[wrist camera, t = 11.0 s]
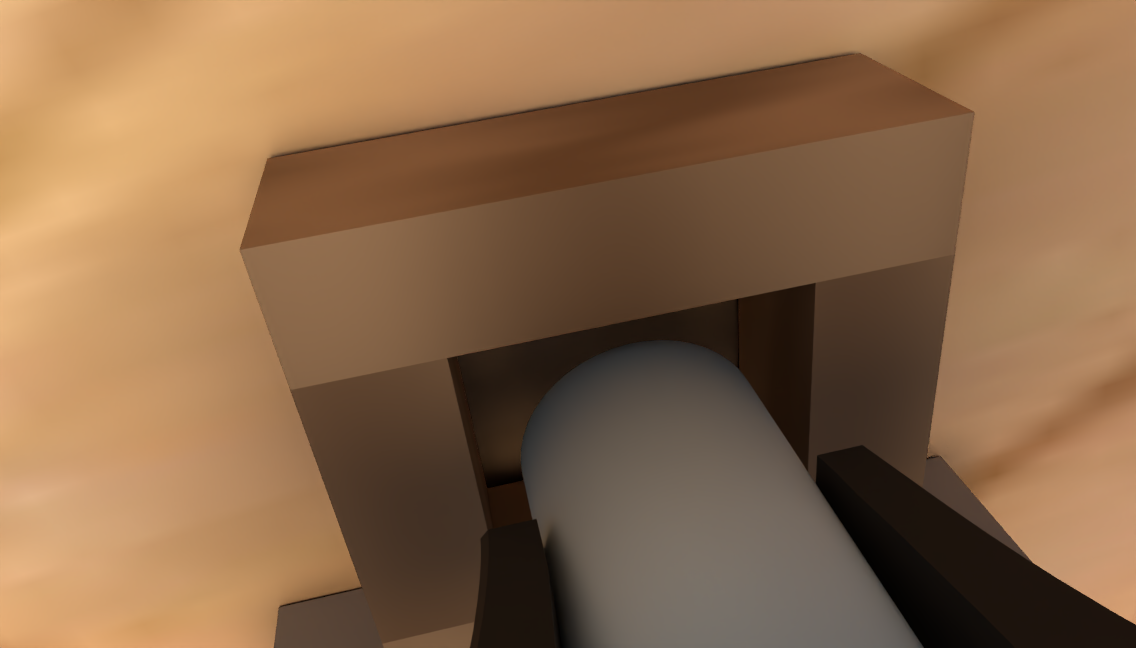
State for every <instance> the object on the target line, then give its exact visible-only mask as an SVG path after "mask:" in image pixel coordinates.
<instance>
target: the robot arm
mask: <svg viewBox="0 0 1136 648" xmlns="http://www.w3.org/2000/svg"><path fill="white" fill-rule="evenodd" d="M816 485H817V486H818V488H819V489H820V491H821V492H822V494H823V495H824V497H825V499H826V500H827V502H828V503H829V505H830V506H831V508H832V509H833V511H834V512H835V514H836V515H837V517H838V518H839V520H840V521H841V523H842V524H843V526H844V527H845V529H846V530H847V532H848V533H849V535H850V536H851V538H852V539H853V541H854V543H855V544H856V546H857V547H858V549H859V550H860V552H861V553H862V555H863V556H864V558H865V559H866V561H867V562H868V564H869V565H870V567H871V568H872V570H873V571H874V573H875V574H876V576H877V577H878V579H879V580H880V582H881V584H882V585H883V587H884V588H885V590H886V591H887V593H888V594H889V596H890V597H891V599H892V600H893V602H894V603H895V605H896V606H897V608H898V609H899V611H900V612H901V614H902V615H903V617H904V618H905V620H906V621H907V623H908V624H909V626H910V628H911V629H912V631H913V632H914V634H915V635H916V637H917V638H918V640H919V641H920V643H921V644H922V646H923V647H924V648H1136V625H1135V624H1133V623H1132V622H1130V621H1128V620H1126V619H1124V618H1123V617H1121V616H1119V615H1117V614H1116V613H1114V612H1112V611H1110V610H1109V609H1107V608H1105V607H1104V606H1102V605H1100V604H1099V603H1097V602H1095V601H1094V600H1092V599H1090V598H1089V597H1087V596H1086V595H1084V594H1082V593H1081V592H1079V591H1077V590H1076V589H1074V588H1072V587H1071V586H1069V585H1067V584H1066V583H1064V582H1062V581H1061V580H1059V579H1057V578H1056V577H1054V576H1052V575H1051V574H1049V573H1048V572H1046V571H1045V570H1043V569H1041V568H1040V567H1038V566H1037V565H1035V564H1034V563H1032V562H1030V561H1029V560H1027V559H1026V558H1024V557H1023V556H1021V555H1020V554H1018V553H1017V552H1015V551H1014V550H1012V549H1011V548H1009V547H1008V546H1006V545H1005V544H1003V543H1002V542H1000V541H999V540H997V539H996V538H994V537H993V536H991V535H990V534H988V533H987V532H985V531H984V530H982V529H981V528H979V527H978V526H976V525H975V524H973V523H972V522H971V521H969V520H968V519H966V518H965V517H963V516H962V515H960V514H959V513H958V512H956V511H955V510H953V509H952V508H950V507H949V506H948V505H946V504H945V503H943V502H942V501H941V500H939V499H938V498H936V497H935V496H933V495H932V494H931V493H929V492H928V491H926V490H925V489H924V488H922V487H921V486H919V485H918V484H917V483H915V482H914V481H912V480H911V479H910V478H908V477H907V476H905V475H904V474H903V473H901V472H900V471H898V470H897V469H896V468H894V467H893V466H891V465H890V464H889V463H887V462H886V461H884V460H883V459H882V458H880V457H879V456H877V455H876V454H874V453H873V452H872V451H870V450H869V449H867V448H866V447H865V446H863V445H860V446H856V447H851V448H847V449H842V450H838V451H834V452H829V453H825V454H820V455H817V466H816ZM480 540H481V566H480V581H479V591H478V600H477V607H476V614H475V621H474V628H473V634H472V639H471V644H470V648H562V646H561V638H560V631H559V624H558V617H557V612H556V606H555V601H554V596H553V591H552V585H551V580H550V575H549V569H548V564H547V560H546V556H545V552H544V547H543V543H542V539H541V535H540V531H539V527H538V523H537V519H533V520H529V521H524V522H520V523H515V524H511V525H506V526H502V527H498V528H493V529H489V530H487V531H486V533H485V534H484V535H483V536H482V537H481V538H480Z"/></svg>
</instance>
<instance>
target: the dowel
mask: <svg viewBox="0 0 1136 648" xmlns="http://www.w3.org/2000/svg"><path fill="white" fill-rule="evenodd" d="M521 468H522V474H523V479H524V483H525V488H526V492H527V497H528V502H529V506H530V511H531V515H532V520H533V519H537V523H538V527H539V531H540V535H541V539H542V543H543V547H544V552H545V556H546V560H547V564H548V569H549V575H550V580H551V585H552V591H553V596H554V601H555V606H556V612H557V617H558V624H559V631H560V638H561V646H562V648H924V647H923V646H922V644H921V643H920V641H919V640H918V638H917V637H916V635H915V634H914V632H913V631H912V629H911V628H910V626H909V624H908V623H907V621H906V620H905V618H904V617H903V615H902V614H901V612H900V611H899V609H898V608H897V606H896V605H895V603H894V602H893V600H892V599H891V597H890V596H889V594H888V593H887V591H886V590H885V588H884V587H883V585H882V584H881V582H880V580H879V579H878V577H877V576H876V574H875V573H874V571H873V570H872V568H871V567H870V565H869V564H868V562H867V561H866V559H865V558H864V556H863V555H862V553H861V552H860V550H859V549H858V547H857V546H856V544H855V543H854V541H853V539H852V538H851V536H850V535H849V533H848V532H847V530H846V529H845V527H844V526H843V524H842V523H841V521H840V520H839V518H838V517H837V515H836V514H835V512H834V511H833V509H832V508H831V506H830V505H829V503H828V502H827V500H826V499H825V497H824V495H823V494H822V492H821V491H820V489H819V488H818V486H817V485H816V483H815V482H814V480H813V479H812V477H811V476H810V474H809V473H808V471H807V470H806V468H805V467H804V465H803V464H802V462H801V461H800V459H799V458H798V456H797V454H796V453H795V451H794V450H793V448H792V447H791V445H790V444H789V442H788V441H787V439H786V438H785V436H784V435H783V433H782V432H781V430H780V429H779V427H778V426H777V424H776V423H775V421H774V420H773V418H772V417H771V415H770V414H769V412H768V410H767V409H766V407H765V406H764V404H763V403H762V401H761V400H760V398H759V397H758V395H757V394H756V392H755V391H754V389H753V388H752V386H751V385H750V383H749V382H748V380H747V379H746V378H745V376H744V375H743V374H742V372H741V371H740V370H739V369H738V368H737V367H736V366H735V365H734V364H733V363H732V362H730V361H729V360H728V359H726V358H725V357H723V356H722V355H720V354H718V353H716V352H714V351H712V350H710V349H708V348H705V347H702V346H699V345H696V344H693V343H687V342H682V341H672V340H653V341H642V342H636V343H631V344H626V345H623V346H620V347H616V348H613V349H610V350H608V351H605V352H603V353H600V354H598V355H596V356H594V357H592V358H590V359H588V360H587V361H585V362H583V363H581V364H579V365H578V366H577V367H575V368H574V369H572V370H571V371H570V372H568V373H567V374H566V375H564V376H563V377H562V378H561V379H560V380H559V381H558V382H556V383H555V384H554V385H553V386H552V388H551V389H550V390H549V391H548V392H547V393H546V394H545V395H544V397H543V398H542V399H541V401H540V402H539V404H538V405H537V407H536V408H535V410H534V412H533V414H532V415H531V417H530V419H529V421H528V424H527V427H526V430H525V433H524V435H523V441H522V446H521Z"/></svg>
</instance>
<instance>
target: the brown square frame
mask: <svg viewBox="0 0 1136 648" xmlns="http://www.w3.org/2000/svg"><path fill="white" fill-rule="evenodd" d="M973 118H974V112H973V111H971V110H969V109H967V108H965V107H963V106H961V105H960V104H958V103H956V102H954V101H952V100H950V99H948V98H946V97H944V96H942V95H940V94H938V93H936V92H934V91H932V90H930V89H929V88H927V87H925V86H923V85H921V84H919V83H917V82H915V81H913V80H911V79H909V78H907V77H905V76H903V75H901V74H899V73H898V72H896V71H894V70H892V69H890V68H888V67H886V66H884V65H882V64H880V63H878V62H876V61H874V60H872V59H870V58H868V57H867V56H865V55H863V54H861V53H858V54H853V55H847V56H842V57H836V58H830V59H825V60H819V61H813V62H808V63H802V64H797V65H791V66H785V67H780V68H774V69H769V70H763V71H757V72H752V73H746V74H740V75H735V76H729V77H724V78H718V79H712V80H707V81H701V82H695V83H690V84H684V85H679V86H673V87H667V88H662V89H656V90H651V91H645V92H639V93H634V94H628V95H622V96H617V97H611V98H606V99H600V100H594V101H589V102H583V103H578V104H572V105H566V106H561V107H555V108H549V109H544V110H538V111H533V112H527V113H521V114H516V115H510V116H504V117H499V118H493V119H488V120H482V121H476V122H471V123H465V124H460V125H454V126H448V127H443V128H437V129H431V130H426V131H420V132H415V133H409V134H403V135H398V136H392V137H387V138H381V139H375V140H370V141H364V142H358V143H353V144H347V145H342V146H336V147H330V148H325V149H319V150H314V151H308V152H302V153H297V154H291V155H285V156H280V157H274V158H269V159H267V162H266V166H265V169H264V172H263V175H262V179H261V182H260V185H259V188H258V192H257V195H256V198H255V201H254V205H253V208H252V211H251V214H250V218H249V221H248V224H247V227H246V231H245V234H244V237H243V240H242V244H241V247H240V253H241V255H242V258H243V261H244V264H245V266H246V269H247V272H248V275H249V277H250V280H251V283H252V286H253V288H254V291H255V294H256V297H257V300H258V302H259V305H260V308H261V311H262V313H263V316H264V319H265V322H266V324H267V327H268V330H269V333H270V335H271V338H272V341H273V344H274V346H275V349H276V352H277V355H278V357H279V360H280V363H281V366H282V368H283V371H284V374H285V377H286V379H287V382H288V385H289V388H290V390H291V393H292V396H293V399H294V402H295V404H296V407H297V410H298V413H299V415H300V418H301V421H302V424H303V426H304V429H305V432H306V435H307V437H308V440H309V443H310V446H311V448H312V451H313V454H314V457H315V459H316V462H317V465H318V468H319V470H320V473H321V476H322V479H323V481H324V484H325V487H326V490H327V492H328V495H329V498H330V501H331V504H332V506H333V509H334V512H335V515H336V517H337V520H338V523H339V526H340V528H341V531H342V534H343V537H344V539H345V542H346V545H347V548H348V550H349V553H350V556H351V559H352V561H353V564H354V567H355V570H356V572H357V575H358V578H359V581H360V583H361V586H362V589H363V592H364V595H365V597H366V600H367V603H368V606H369V608H370V611H371V614H372V617H373V619H374V622H375V625H376V628H377V630H378V633H379V636H380V639H381V641H382V644H383V647H384V648H470V644H471V639H472V634H473V628H474V621H475V614H476V607H477V600H478V591H479V581H480V566H481V540H480V538H481V537H482V536H483V535H484V534H485V533H486V531H487V530H489V529H493V528H498V527H502V526H506V525H511V524H515V523H520V522H524V521H529V520H532V515H531V511H530V506H529V502H528V497H527V492H526V488H525V483H524V480H523V481H519V482H514V483H510V484H505V485H501V486H496V487H492V488H487V486H486V482H485V477H484V473H483V468H482V464H481V460H480V455H479V451H478V446H477V442H476V438H475V433H474V429H473V425H472V420H471V416H470V411H469V407H468V403H467V398H466V394H465V389H464V385H463V381H462V376H461V372H460V367H459V363H458V359H457V356H460V355H464V354H469V353H474V352H479V351H484V350H489V349H494V348H499V347H504V346H508V345H513V344H518V343H523V342H528V341H533V340H538V339H543V338H548V337H553V336H557V335H562V334H567V333H572V332H577V331H582V330H587V329H592V328H597V327H601V326H606V325H611V324H616V323H621V322H626V321H631V320H636V319H641V318H646V317H650V316H655V315H660V314H665V313H670V312H675V311H680V310H685V309H690V308H694V307H699V306H704V305H709V304H714V303H719V302H724V301H729V300H734V299H738V301H739V370H740V371H741V372H742V374H743V375H744V376H745V378H746V379H747V380H748V382H749V383H750V385H751V386H752V388H753V389H754V391H755V392H756V394H757V395H758V397H759V398H760V400H761V401H762V403H763V404H764V406H765V407H766V409H767V410H768V412H769V414H770V415H771V417H772V418H773V420H774V421H775V423H776V424H777V426H778V427H779V429H780V430H781V432H782V433H783V435H784V436H785V438H786V439H787V441H788V442H789V444H790V445H791V447H792V448H793V450H794V451H795V453H796V454H797V456H798V458H799V459H800V461H801V462H802V464H803V465H804V467H805V468H806V470H807V471H808V473H809V474H810V476H811V477H812V479H813V480H814V482H815V483H816V466H817V455H820V454H825V453H829V452H834V451H838V450H842V449H847V448H851V447H856V446H860V445H863V446H865V447H866V448H867V449H869V450H870V451H872V452H873V453H874V454H876V455H877V456H879V457H880V458H882V459H883V460H884V461H886V462H887V463H889V464H890V465H891V466H893V467H894V468H896V469H897V470H898V471H900V472H901V473H903V474H904V475H905V476H907V477H908V478H910V479H911V480H912V481H914V482H915V483H917V484H918V485H919V486H921V487H923V480H924V473H925V466H926V459H927V451H928V444H929V437H930V430H931V422H932V415H933V408H934V401H935V393H936V386H937V379H938V372H939V364H940V357H941V350H942V343H943V336H944V328H945V321H946V314H947V307H948V299H949V292H950V285H951V278H952V270H953V263H954V256H955V249H956V241H957V234H958V227H959V220H960V213H961V205H962V198H963V191H964V184H965V176H966V169H967V162H968V155H969V147H970V140H971V133H972V126H973Z"/></svg>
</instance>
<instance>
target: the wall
mask: <svg viewBox="0 0 1136 648" xmlns="http://www.w3.org/2000/svg"><path fill="white" fill-rule="evenodd" d="M922 488H924V489H925V490H926V491H928V492H929V493H931V494H932V495H933V496H935V497H936V498H938V499H939V500H941V501H942V502H943V503H945V504H946V505H948V506H949V507H950V508H952V509H953V510H955V511H956V512H958V513H959V514H960V515H962V516H963V517H965V518H966V519H968V520H969V521H971V522H972V523H973V524H975V525H976V526H978V527H979V528H981V529H982V530H984V531H985V532H987V533H988V534H990V535H991V536H993V537H994V538H996V539H997V540H999V541H1000V542H1002V543H1003V544H1005V545H1006V546H1008V547H1009V548H1011V549H1012V550H1014V551H1015V552H1017V553H1018V554H1020V555H1021V556H1023V557H1024V558H1026V559H1027V560H1029V561H1030V562H1032V561H1031V560H1030V559H1029V558H1028V557H1027V556H1026V555H1025V553H1024V552H1023V551H1022V550H1021V549H1020V548H1019V546H1018V545H1017V544H1016V543H1015V542H1014V541H1013V539H1012V538H1011V537H1010V536H1009V535H1008V534H1007V533H1006V531H1005V530H1004V529H1003V528H1002V527H1001V526H1000V524H999V523H998V522H997V521H996V520H995V519H994V517H993V516H992V515H991V514H990V513H989V512H988V511H987V509H986V508H985V507H984V506H983V505H982V504H981V502H980V501H979V500H978V499H977V498H976V497H975V495H974V494H973V493H972V492H971V491H970V490H969V489H968V487H967V486H966V485H965V484H964V483H963V482H962V480H961V479H960V478H959V477H958V476H957V475H956V474H955V472H954V471H953V470H952V469H951V468H950V467H949V465H948V464H947V463H946V462H945V461H944V460H943V458H942V457H941V456H940V457H935V458H931V459H926V466H925V473H924V480H923V487H922ZM274 648H384V647H383V644H382V641H381V639H380V636H379V633H378V630H377V628H376V625H375V622H374V619H373V617H372V614H371V611H370V608H369V606H368V603H367V600H366V597H365V595H364V592H363V589H357V590H353V591H348V592H344V593H340V594H335V595H331V596H327V597H322V598H318V599H313V600H309V601H305V602H300V603H296V604H292V605H287V606H283V607H279V610H278V619H277V627H276V635H275V643H274Z"/></svg>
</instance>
